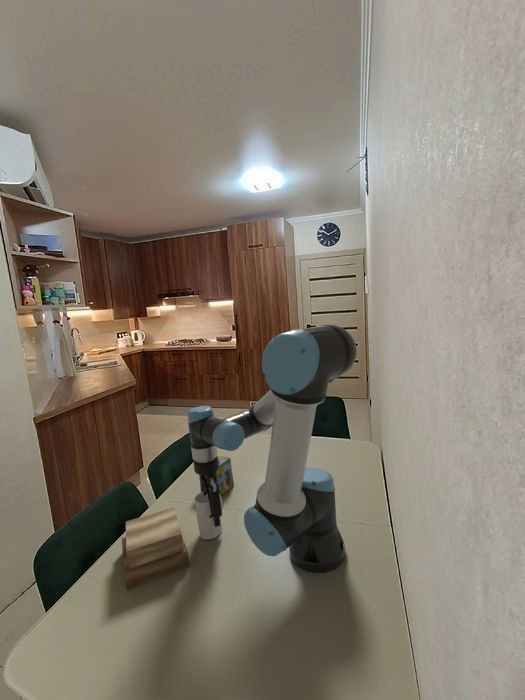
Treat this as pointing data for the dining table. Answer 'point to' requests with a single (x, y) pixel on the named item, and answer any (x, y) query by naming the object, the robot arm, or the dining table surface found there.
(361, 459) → the dining table surface
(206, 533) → the mug
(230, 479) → the chalk box
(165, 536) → the beech slab
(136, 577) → the wooden stepped stand
